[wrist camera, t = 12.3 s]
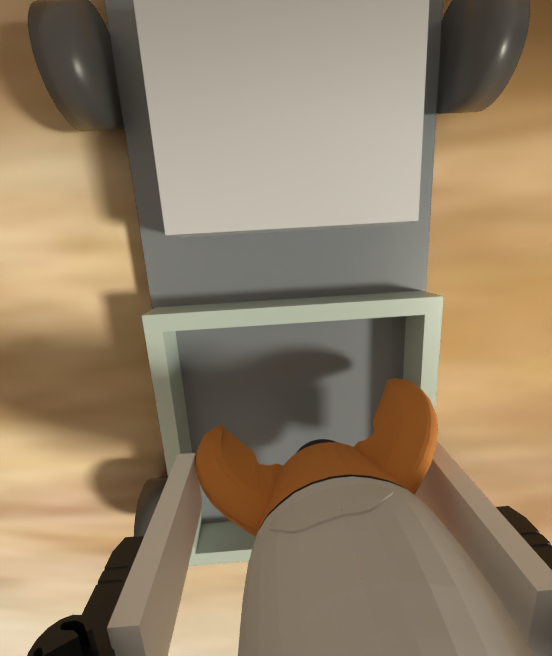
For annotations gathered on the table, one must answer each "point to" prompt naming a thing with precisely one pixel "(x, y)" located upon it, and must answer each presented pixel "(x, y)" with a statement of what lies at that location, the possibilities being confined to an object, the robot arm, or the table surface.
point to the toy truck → (278, 201)
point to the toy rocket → (354, 546)
